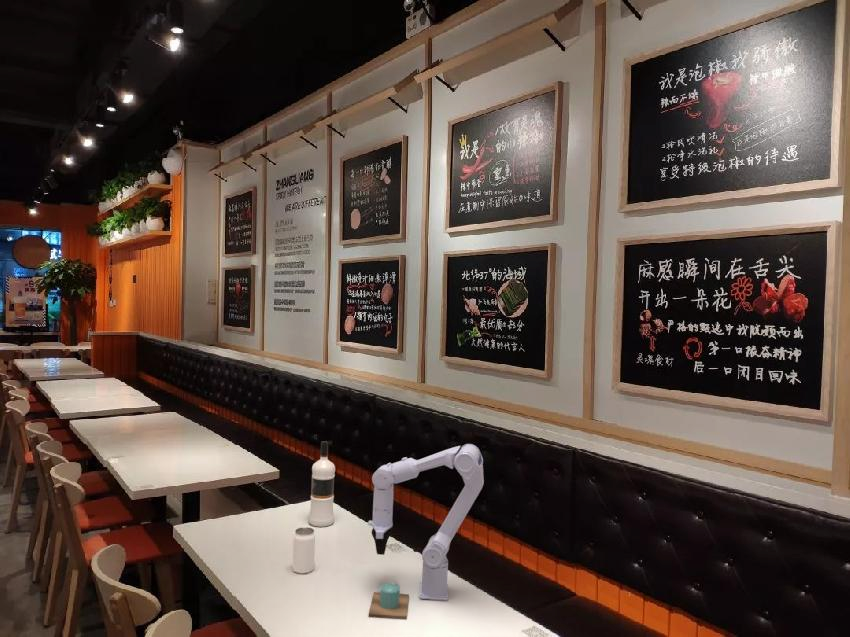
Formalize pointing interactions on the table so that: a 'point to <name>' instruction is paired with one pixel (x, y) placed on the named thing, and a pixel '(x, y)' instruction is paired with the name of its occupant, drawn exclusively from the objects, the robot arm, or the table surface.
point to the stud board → (393, 613)
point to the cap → (389, 595)
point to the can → (303, 550)
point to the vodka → (322, 490)
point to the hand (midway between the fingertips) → (380, 553)
